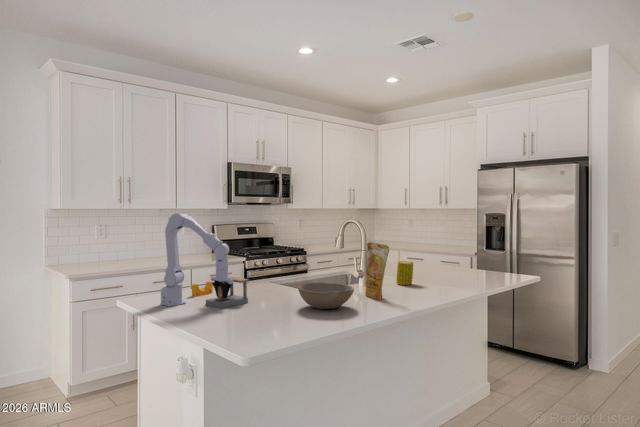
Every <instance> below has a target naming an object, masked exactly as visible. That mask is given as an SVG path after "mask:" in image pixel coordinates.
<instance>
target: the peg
mask: <svg viewBox="0 0 640 427" xmlns="http://www.w3.org/2000/svg"><path fill="white" fill-rule="evenodd" d="M218 301H226V298H223V296H222V288H221V286H219V287H218Z"/></svg>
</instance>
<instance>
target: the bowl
mask: <svg viewBox="0 0 640 427" xmlns="http://www.w3.org/2000/svg"><path fill="white" fill-rule="evenodd" d="M297 290H298V292H299V295H300V296H301V299H302V300H303V301H304V302H305V303H306V304H307V305H309V306H311V307H313V308H316V309H318V310H327V309H328V310H332V309H337V308H339V307H341V306H343V305H344V304H345V303H347V302H348V301H349V300H350V299H351V297H352V295H354V294H353V293H354V292H355V289H354V287H353V286H351V285H349V284H345V283H336V282H309V283H303V284H300V285H298V287H297Z"/></svg>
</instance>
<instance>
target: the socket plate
mask: <svg viewBox="0 0 640 427" xmlns="http://www.w3.org/2000/svg"><path fill="white" fill-rule="evenodd" d="M229 277H230V279H233V284H232V285H231V287H230V289H229V291H230V293H229V294H228V296H227V298H226V301H218V297H217V296H216V297H214V298H208V299H205V305H206V306H209V307H212V308H216V307H217V309H226V308H231V307H235V306H240V305H244V304H249V297H248V296H247V295H248V294H247V293H248V291H247V289H248V286H247V284H248V283H249V282H250V279H247V278H242V277H235V276H229ZM234 283H238V284H243V285H242V287H243V289H242V291H243V293H242V294H243V296H241V295H236V294H234Z"/></svg>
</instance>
